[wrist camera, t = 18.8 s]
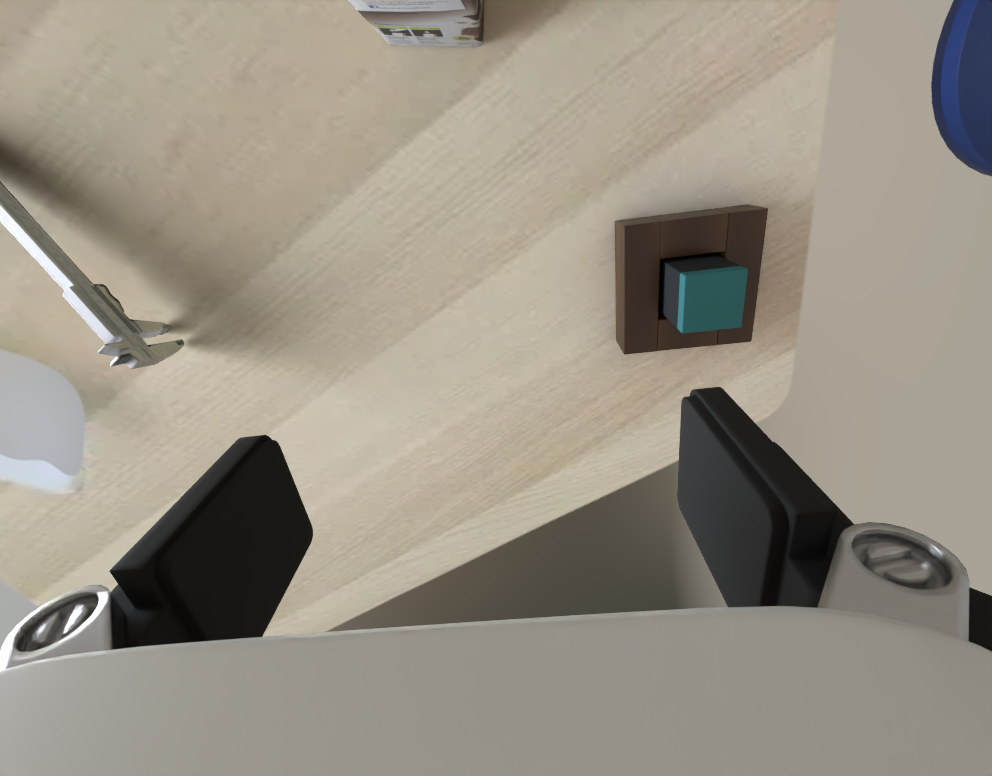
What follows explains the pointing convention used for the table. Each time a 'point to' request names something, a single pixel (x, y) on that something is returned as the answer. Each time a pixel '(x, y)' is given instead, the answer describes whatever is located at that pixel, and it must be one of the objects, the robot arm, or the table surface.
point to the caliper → (88, 294)
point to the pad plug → (702, 292)
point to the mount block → (675, 236)
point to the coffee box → (426, 21)
